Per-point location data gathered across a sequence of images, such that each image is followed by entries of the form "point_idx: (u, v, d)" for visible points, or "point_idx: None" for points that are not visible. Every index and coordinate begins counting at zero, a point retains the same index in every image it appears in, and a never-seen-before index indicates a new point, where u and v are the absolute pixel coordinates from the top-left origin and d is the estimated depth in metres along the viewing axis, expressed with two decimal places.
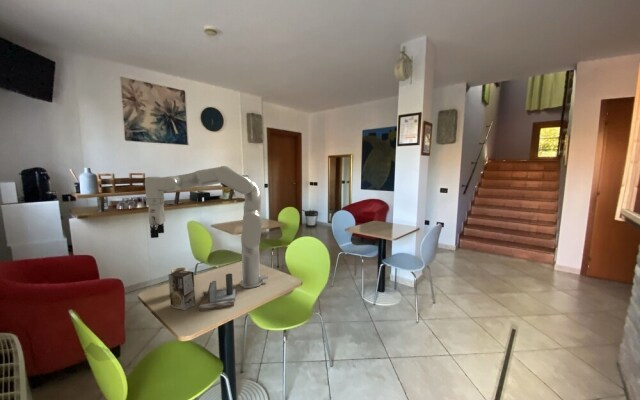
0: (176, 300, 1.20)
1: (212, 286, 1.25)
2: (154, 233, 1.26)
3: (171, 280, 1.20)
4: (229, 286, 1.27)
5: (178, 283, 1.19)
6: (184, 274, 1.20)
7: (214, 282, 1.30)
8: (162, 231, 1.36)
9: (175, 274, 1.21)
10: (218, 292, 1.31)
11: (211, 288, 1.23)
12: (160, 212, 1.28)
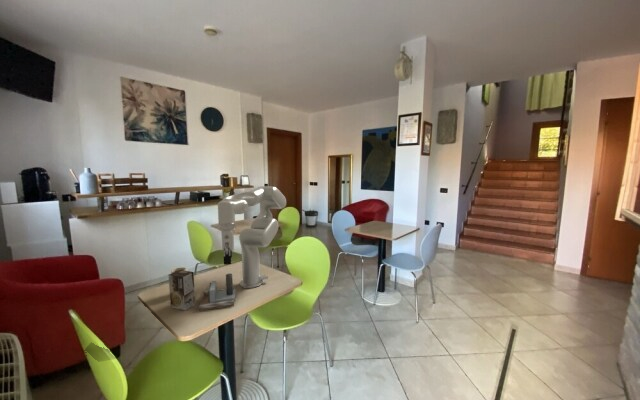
0: (176, 300, 1.20)
1: (212, 286, 1.25)
2: (227, 260, 1.21)
3: (171, 280, 1.20)
4: (229, 286, 1.27)
5: (178, 283, 1.19)
6: (184, 274, 1.20)
7: (214, 282, 1.30)
8: (230, 256, 1.31)
9: (175, 274, 1.21)
10: (218, 292, 1.31)
11: (211, 288, 1.23)
12: (232, 237, 1.24)
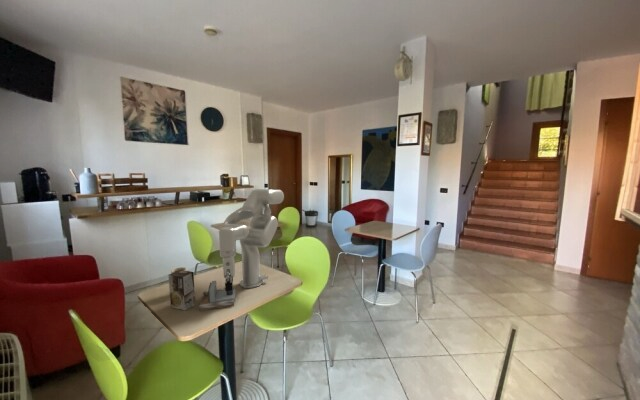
0: (176, 300, 1.20)
1: (212, 286, 1.25)
2: (229, 286, 1.23)
3: (171, 280, 1.20)
4: None
5: (178, 283, 1.19)
6: (184, 274, 1.20)
7: (214, 282, 1.30)
8: (231, 280, 1.33)
9: (175, 274, 1.21)
10: (218, 292, 1.31)
11: (211, 288, 1.23)
12: (234, 264, 1.25)
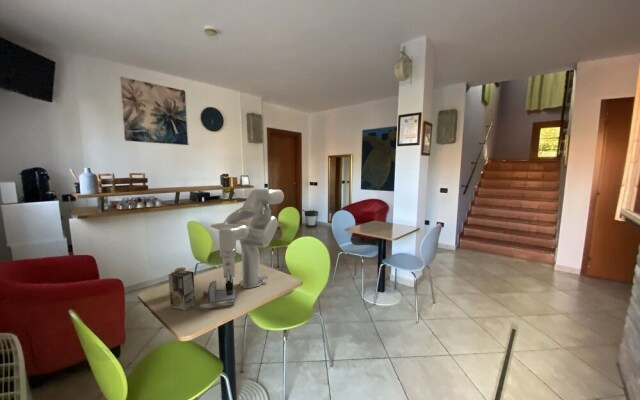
0: (176, 300, 1.20)
1: (212, 286, 1.25)
2: (229, 286, 1.26)
3: (171, 280, 1.20)
4: None
5: (178, 283, 1.19)
6: (184, 274, 1.20)
7: (214, 282, 1.30)
8: None
9: (175, 274, 1.21)
10: (218, 292, 1.31)
11: (211, 288, 1.23)
12: (234, 264, 1.25)
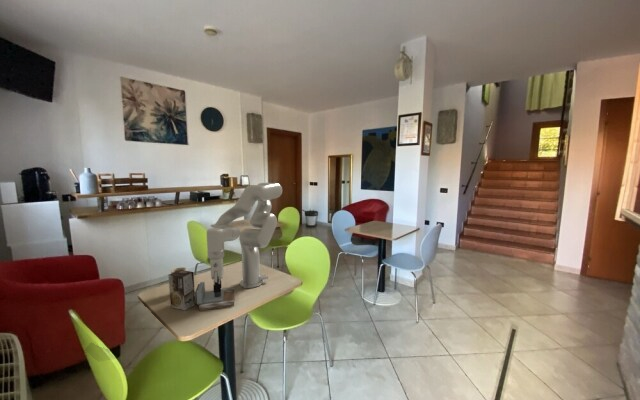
0: (176, 300, 1.20)
1: (200, 287, 1.24)
2: (217, 288, 1.24)
3: (171, 280, 1.20)
4: None
5: (178, 283, 1.19)
6: (184, 274, 1.20)
7: (202, 283, 1.28)
8: None
9: (175, 274, 1.21)
10: (206, 293, 1.29)
11: (198, 290, 1.21)
12: (222, 265, 1.24)
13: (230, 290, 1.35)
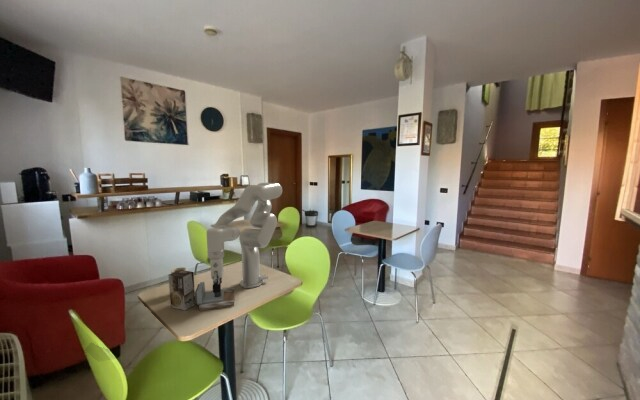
0: (176, 300, 1.20)
1: (200, 287, 1.24)
2: (216, 288, 1.21)
3: (171, 280, 1.20)
4: None
5: (178, 283, 1.19)
6: (184, 274, 1.20)
7: (202, 283, 1.28)
8: None
9: (175, 274, 1.21)
10: (206, 293, 1.29)
11: (198, 290, 1.21)
12: (221, 265, 1.24)
13: (230, 290, 1.35)
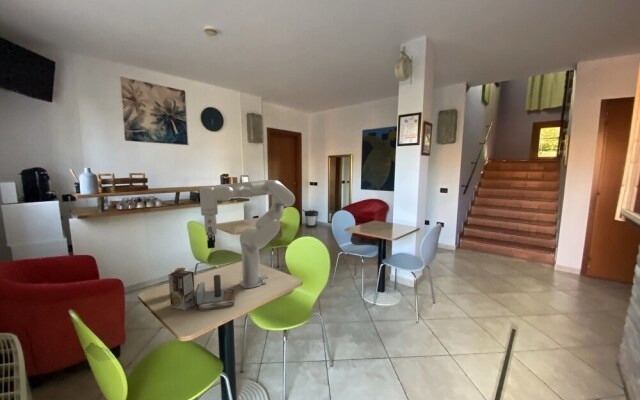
0: (176, 300, 1.20)
1: (200, 287, 1.24)
2: (211, 243, 1.25)
3: (171, 280, 1.20)
4: (217, 288, 1.26)
5: (178, 283, 1.19)
6: (184, 274, 1.20)
7: (202, 283, 1.28)
8: (213, 241, 1.35)
9: (175, 274, 1.21)
10: (206, 293, 1.29)
11: (198, 290, 1.21)
12: (215, 222, 1.27)
13: (230, 290, 1.35)
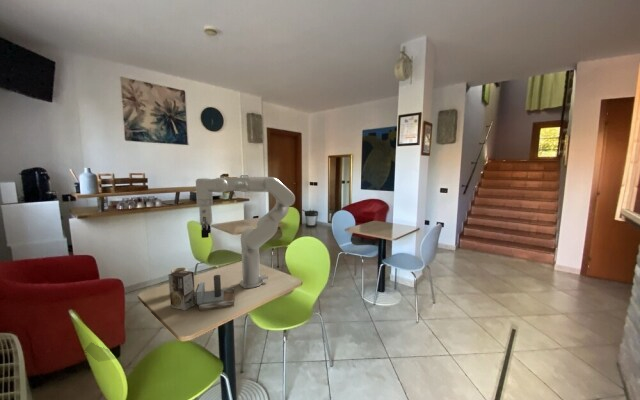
0: (176, 300, 1.20)
1: (200, 287, 1.24)
2: (205, 233, 1.30)
3: (171, 280, 1.20)
4: (217, 288, 1.26)
5: (178, 283, 1.19)
6: (184, 274, 1.20)
7: (202, 283, 1.28)
8: (209, 231, 1.40)
9: (175, 274, 1.21)
10: (206, 293, 1.29)
11: (198, 290, 1.21)
12: (210, 213, 1.32)
13: (230, 290, 1.35)
